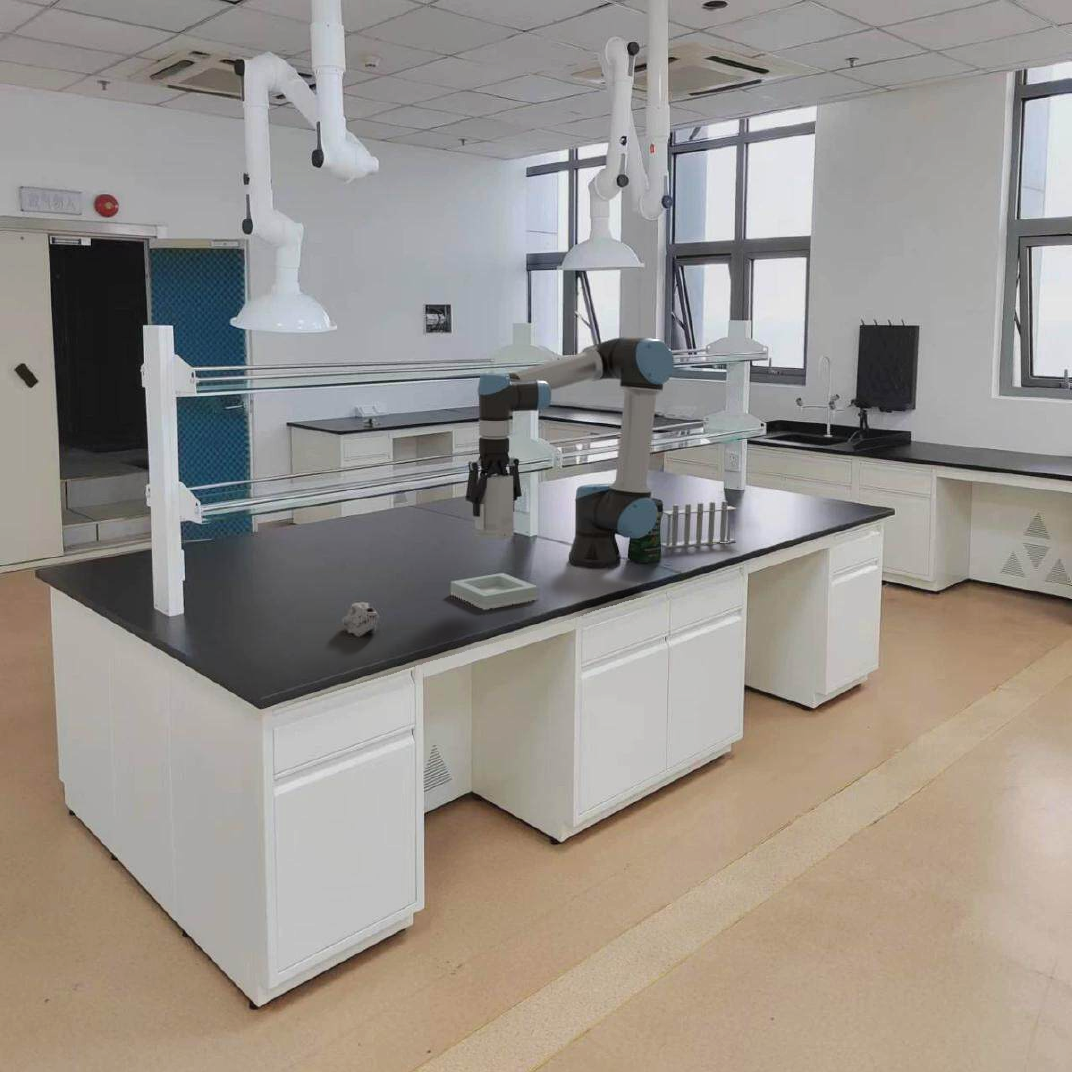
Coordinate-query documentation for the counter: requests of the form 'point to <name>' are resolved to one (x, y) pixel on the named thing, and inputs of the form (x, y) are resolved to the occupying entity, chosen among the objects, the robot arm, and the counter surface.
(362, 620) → the skull
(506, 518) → the skincare box
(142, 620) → the counter surface
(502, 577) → the square shallow tray
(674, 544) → the test tube rack
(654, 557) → the coffee jar
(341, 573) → the counter surface
